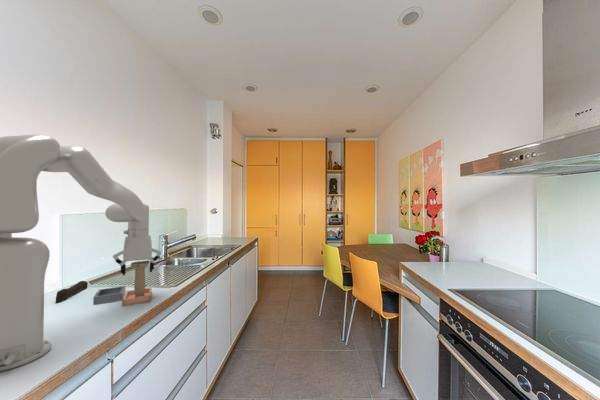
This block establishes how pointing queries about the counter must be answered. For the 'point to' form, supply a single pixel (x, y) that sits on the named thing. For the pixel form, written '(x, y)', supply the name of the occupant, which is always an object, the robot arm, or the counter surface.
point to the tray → (131, 299)
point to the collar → (109, 295)
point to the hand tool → (70, 291)
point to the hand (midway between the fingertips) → (137, 273)
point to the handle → (139, 277)
